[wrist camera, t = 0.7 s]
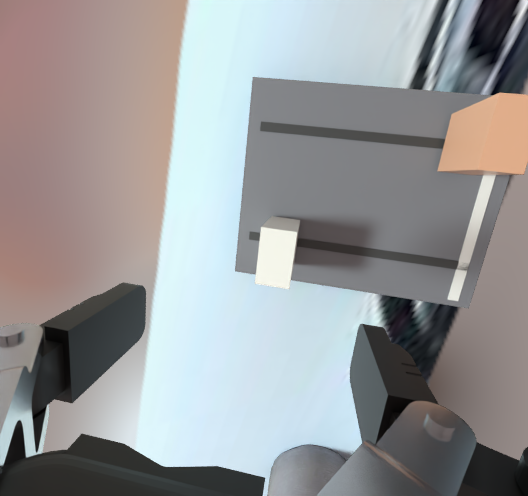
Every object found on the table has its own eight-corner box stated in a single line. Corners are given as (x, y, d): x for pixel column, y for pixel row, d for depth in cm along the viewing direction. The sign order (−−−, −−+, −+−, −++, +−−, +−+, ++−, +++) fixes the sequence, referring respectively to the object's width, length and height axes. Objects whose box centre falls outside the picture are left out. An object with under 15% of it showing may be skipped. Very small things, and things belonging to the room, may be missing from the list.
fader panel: (240, 264, 29) (234, 271, 27) (257, 84, 25) (252, 76, 23) (457, 298, 27) (469, 308, 24) (514, 105, 23) (534, 98, 20)
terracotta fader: (437, 171, 22) (477, 169, 17) (451, 113, 21) (499, 92, 16) (471, 175, 22) (523, 174, 17) (487, 117, 21) (548, 96, 16)
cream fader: (266, 261, 26) (254, 283, 21) (271, 216, 25) (261, 227, 20) (293, 265, 26) (289, 289, 20) (300, 219, 25) (297, 232, 19)
